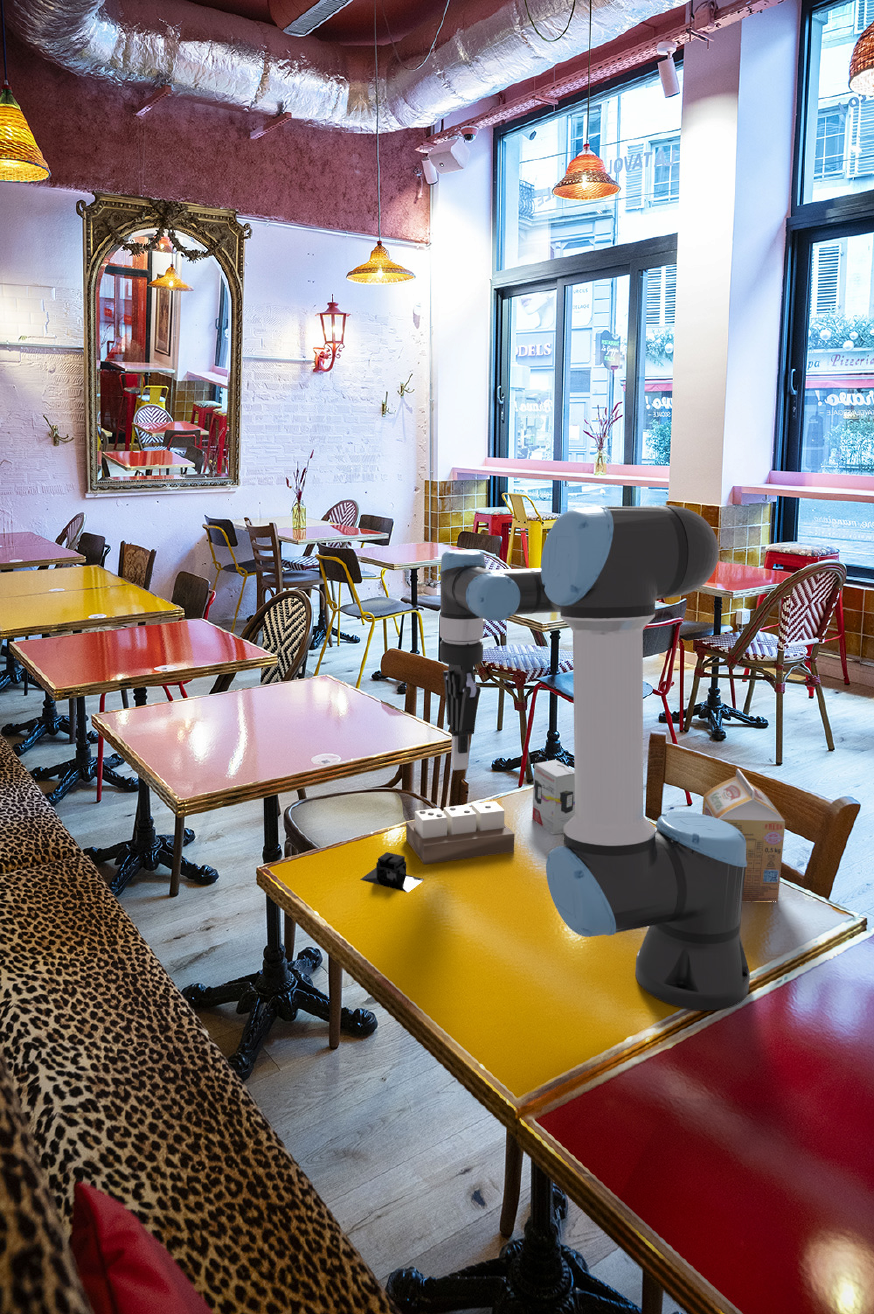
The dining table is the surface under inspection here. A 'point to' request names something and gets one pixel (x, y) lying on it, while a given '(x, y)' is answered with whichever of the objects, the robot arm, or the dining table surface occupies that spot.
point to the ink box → (553, 795)
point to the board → (460, 844)
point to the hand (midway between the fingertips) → (459, 768)
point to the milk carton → (751, 833)
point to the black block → (392, 873)
